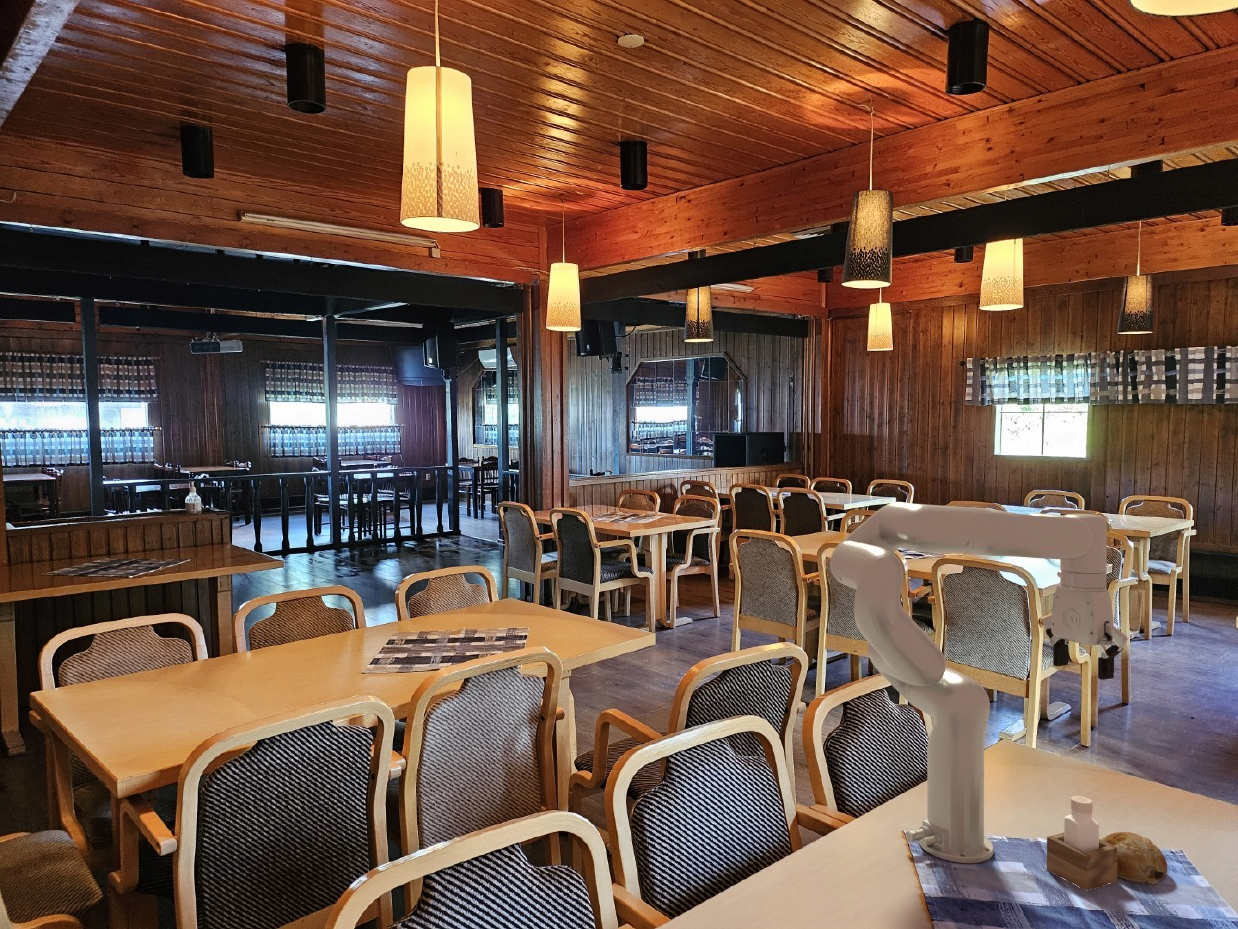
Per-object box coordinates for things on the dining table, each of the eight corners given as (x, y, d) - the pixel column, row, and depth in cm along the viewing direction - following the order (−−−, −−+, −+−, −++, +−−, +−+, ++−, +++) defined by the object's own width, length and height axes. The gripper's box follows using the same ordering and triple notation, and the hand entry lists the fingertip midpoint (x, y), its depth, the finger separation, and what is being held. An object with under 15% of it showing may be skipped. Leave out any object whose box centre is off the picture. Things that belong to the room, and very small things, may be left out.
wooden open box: (1086, 892, 136) (1086, 856, 136) (1046, 871, 143) (1046, 837, 142) (1117, 883, 139) (1117, 847, 138) (1077, 863, 145) (1077, 829, 145)
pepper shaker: (1079, 862, 138) (1080, 805, 138) (1062, 851, 142) (1062, 796, 142) (1100, 860, 139) (1100, 803, 139) (1082, 850, 143) (1083, 794, 143)
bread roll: (1131, 907, 138) (1152, 874, 134) (1077, 857, 146) (1096, 824, 142) (1165, 892, 142) (1187, 859, 139) (1112, 843, 150) (1131, 811, 147)
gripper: (1030, 575, 162) (1029, 662, 162) (1109, 589, 145) (1109, 686, 146) (1059, 572, 164) (1059, 659, 165) (1141, 586, 148) (1140, 682, 148)
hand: (1082, 671), depth 155 cm, fingers open, 9 cm apart
